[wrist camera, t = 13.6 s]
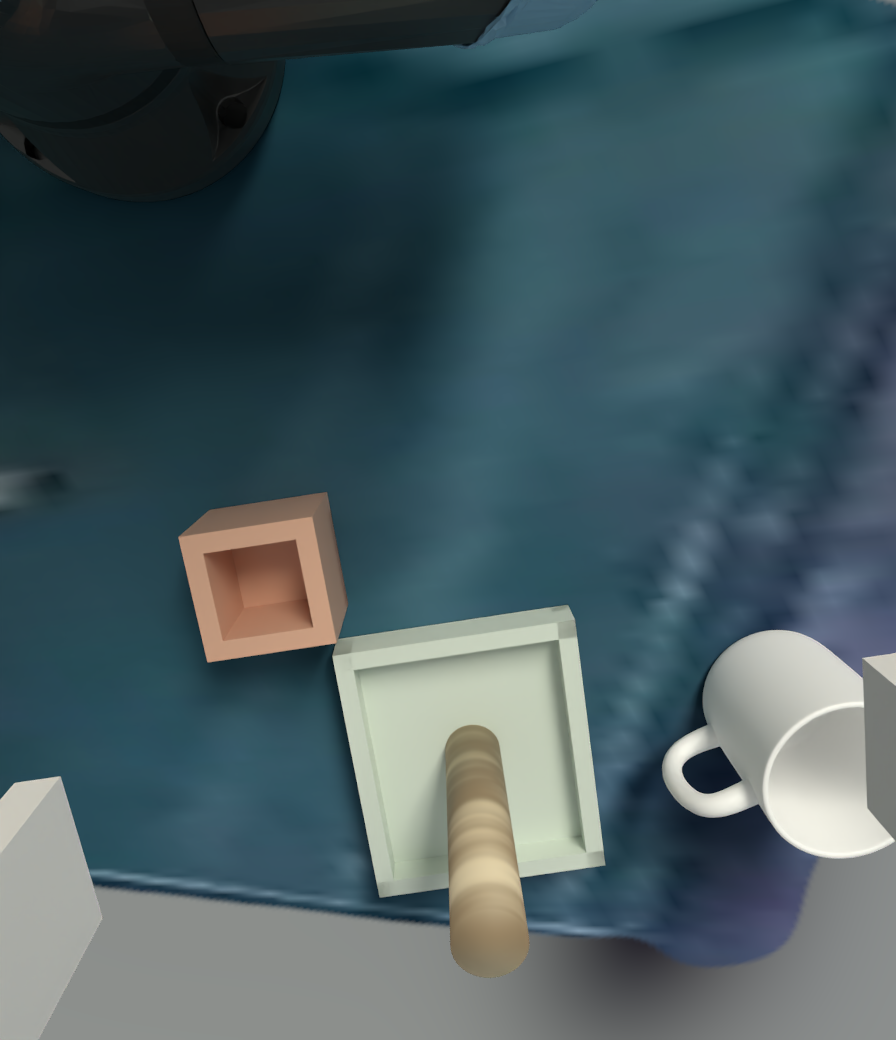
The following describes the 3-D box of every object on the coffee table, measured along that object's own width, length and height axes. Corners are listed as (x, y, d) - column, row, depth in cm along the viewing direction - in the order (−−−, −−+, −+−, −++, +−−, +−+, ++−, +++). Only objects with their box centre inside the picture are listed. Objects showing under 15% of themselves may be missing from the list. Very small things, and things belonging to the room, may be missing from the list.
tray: (337, 639, 49) (332, 655, 47) (567, 604, 49) (574, 619, 47) (382, 871, 53) (379, 897, 51) (597, 839, 53) (605, 865, 50)
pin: (441, 728, 50) (445, 916, 34) (495, 721, 50) (524, 904, 34) (449, 777, 51) (456, 982, 35) (503, 770, 51) (534, 971, 35)
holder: (209, 509, 48) (178, 537, 42) (326, 491, 47) (312, 516, 42) (234, 621, 49) (207, 662, 43) (348, 604, 49) (336, 643, 43)
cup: (855, 725, 51) (955, 823, 42) (666, 796, 52) (720, 908, 42) (815, 604, 50) (910, 676, 40) (619, 680, 50) (665, 768, 41)
